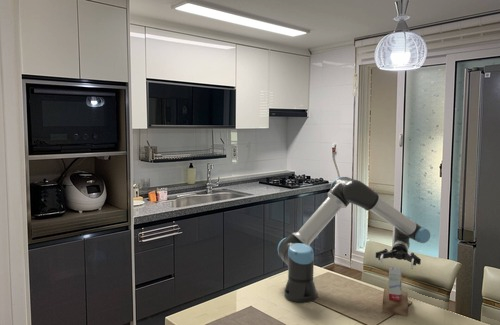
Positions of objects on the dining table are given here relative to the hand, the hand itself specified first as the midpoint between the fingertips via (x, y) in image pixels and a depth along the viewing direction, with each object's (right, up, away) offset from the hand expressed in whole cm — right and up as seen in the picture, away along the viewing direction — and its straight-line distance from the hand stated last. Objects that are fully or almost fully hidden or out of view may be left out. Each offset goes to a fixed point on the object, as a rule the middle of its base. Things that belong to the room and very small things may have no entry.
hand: (396, 263), depth 178 cm
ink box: (-4, -12, -9) cm, 16 cm away
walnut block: (-4, -17, -9) cm, 20 cm away
